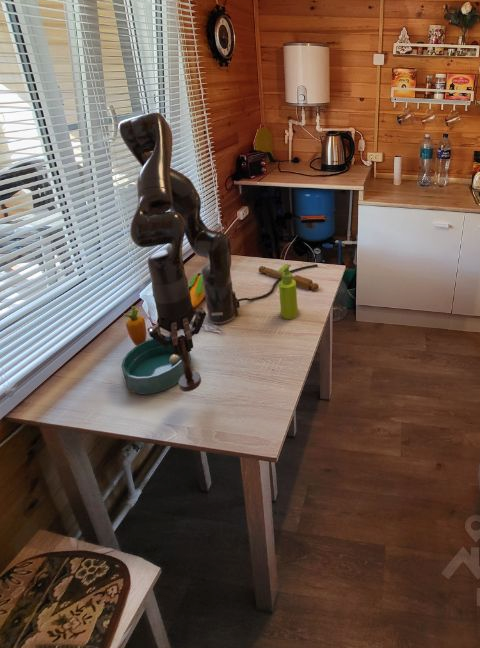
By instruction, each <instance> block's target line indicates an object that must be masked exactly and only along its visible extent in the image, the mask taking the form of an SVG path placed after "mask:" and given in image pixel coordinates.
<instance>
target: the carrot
mask: <svg viewBox="0 0 480 648" xmlns="http://www.w3.org/2000/svg"><path fill="white" fill-rule="evenodd" d="M131 311H132V312H131V313H123V316H124V317H128V318H129V319H127V321H126V323H125V327H126V330H127V333H128V336H129V338H130V340H131V341H132V343H133V344H134V345H135V347H136V346H137V345H139V344H141V343H143V342H144V341H147V325H146V321H145V318H144V317H143V316H141V315H138V312H139V310H138V309H136V306H131Z"/></svg>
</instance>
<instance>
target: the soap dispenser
mask: <svg viewBox="0 0 480 648" xmlns="http://www.w3.org/2000/svg"><path fill="white" fill-rule="evenodd" d="M291 266H292V265H291V264H288V263H285V264H283V266H281V267H280V268H279V269H278V270H277V271H278V272H279V273H283V274H282V279H281V280H279V281H278V290H279V304H280V316H281V317H282V318H283V319H284V320H292V319H295V318H296V317H297V316H298V313H299V311H298V310H299V309H298V296H297V295H298V294H297V293H298V292H297V286H296V281H295V280H293V279H292V276H293V274H292V272H291V273H290V272H289V271H290V267H291Z"/></svg>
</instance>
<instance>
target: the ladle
mask: <svg viewBox="0 0 480 648" xmlns="http://www.w3.org/2000/svg"><path fill="white" fill-rule="evenodd" d="M178 343H179V345H180V350H181V360H182V365H183V370H184V375H183V376H181V378H180V379H179V381H178V387H179V389H180V391H182V392H186V393H187V392H191V391H194V390H196V389H198V387H200V385H201V383H202V378H201V373H200V372H198V371H193V369H192V363H191V364H190V359H189V354H188V349H187V344H186V339H185V334H180V335H178Z"/></svg>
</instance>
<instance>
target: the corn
mask: <svg viewBox="0 0 480 648" xmlns="http://www.w3.org/2000/svg"><path fill="white" fill-rule="evenodd" d="M189 290H190V296H191V301H192V306H193V307H194V308H197V307H198V306H199V305H200V303H201V302H202V301H203V300H204V299H205V293H204V286H203V280H202V274H201V272H198V273H196V274H195V275H193V276H192V277H191V280H190V281H189Z"/></svg>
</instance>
